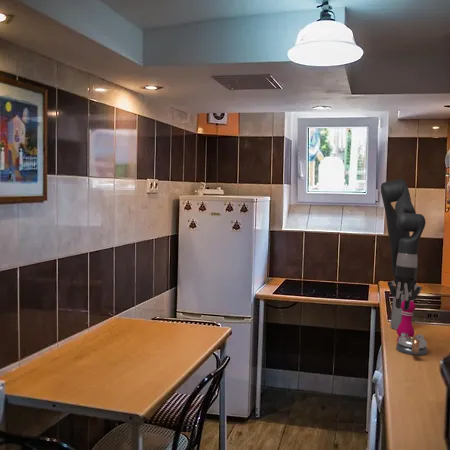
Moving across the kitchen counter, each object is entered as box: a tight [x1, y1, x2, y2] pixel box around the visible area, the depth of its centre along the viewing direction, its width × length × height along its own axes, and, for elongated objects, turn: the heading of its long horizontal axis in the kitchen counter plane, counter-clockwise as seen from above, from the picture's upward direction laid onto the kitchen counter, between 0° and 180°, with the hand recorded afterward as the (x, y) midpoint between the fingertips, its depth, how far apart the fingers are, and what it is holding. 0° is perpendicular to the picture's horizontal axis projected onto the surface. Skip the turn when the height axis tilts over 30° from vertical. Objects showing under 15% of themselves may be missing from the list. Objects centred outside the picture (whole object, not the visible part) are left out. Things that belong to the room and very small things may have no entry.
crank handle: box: [397, 332, 428, 356], centre depth 220 cm, size 20×11×6 cm, turn 166°
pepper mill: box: [396, 300, 416, 343], centre depth 237 cm, size 7×7×20 cm
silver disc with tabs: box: [395, 342, 429, 357], centre depth 225 cm, size 12×12×2 cm
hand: (402, 308), depth 214 cm, fingers open, 2 cm apart
